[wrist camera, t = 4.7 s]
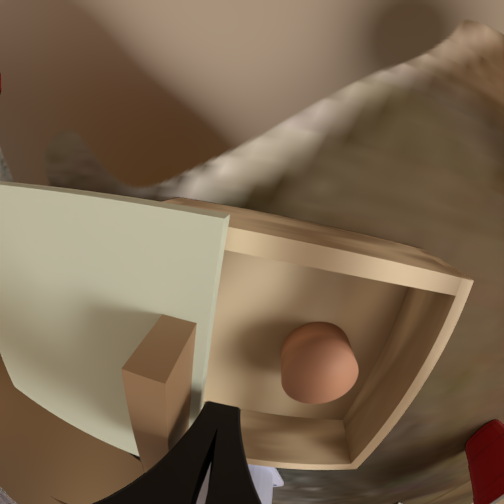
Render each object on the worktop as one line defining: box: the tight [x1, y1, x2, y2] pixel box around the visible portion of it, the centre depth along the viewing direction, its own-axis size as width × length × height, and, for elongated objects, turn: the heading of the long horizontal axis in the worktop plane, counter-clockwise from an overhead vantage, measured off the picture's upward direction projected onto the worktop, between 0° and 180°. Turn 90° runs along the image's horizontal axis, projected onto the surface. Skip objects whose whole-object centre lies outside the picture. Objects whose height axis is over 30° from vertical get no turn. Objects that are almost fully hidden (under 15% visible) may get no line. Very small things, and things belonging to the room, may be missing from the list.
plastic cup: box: [465, 420, 504, 504], centre depth 13 cm, size 11×11×12 cm
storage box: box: [163, 197, 473, 470], centre depth 13 cm, size 14×14×5 cm
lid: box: [0, 181, 230, 473], centre depth 9 cm, size 15×15×4 cm
